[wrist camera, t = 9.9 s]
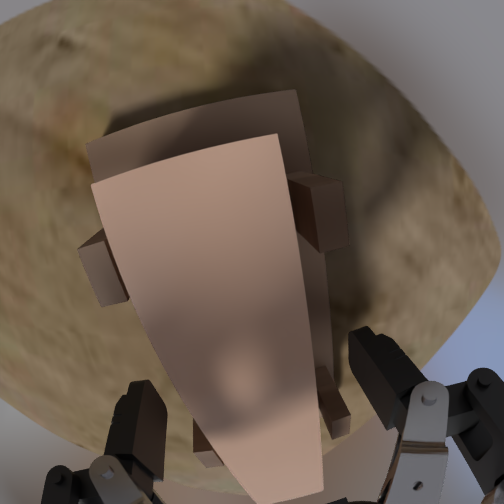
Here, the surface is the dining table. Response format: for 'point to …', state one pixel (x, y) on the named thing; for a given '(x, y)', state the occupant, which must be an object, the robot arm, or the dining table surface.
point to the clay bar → (225, 304)
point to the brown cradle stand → (302, 201)
